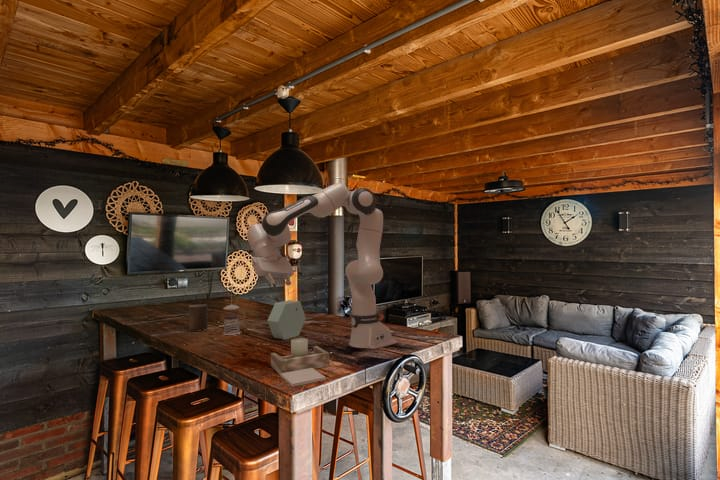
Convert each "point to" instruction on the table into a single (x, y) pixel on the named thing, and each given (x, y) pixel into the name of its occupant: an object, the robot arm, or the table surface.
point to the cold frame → (300, 361)
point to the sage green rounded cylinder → (299, 347)
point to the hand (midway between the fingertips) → (281, 284)
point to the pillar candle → (198, 317)
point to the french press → (228, 320)
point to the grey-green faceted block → (286, 319)
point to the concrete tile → (302, 377)
